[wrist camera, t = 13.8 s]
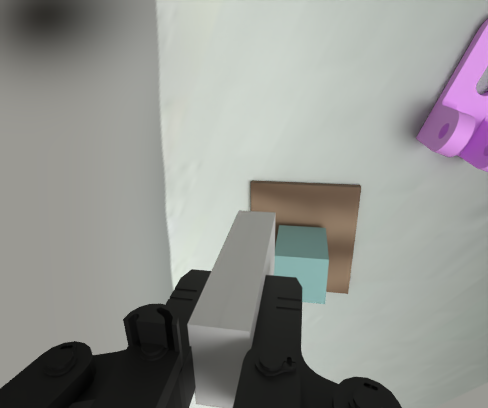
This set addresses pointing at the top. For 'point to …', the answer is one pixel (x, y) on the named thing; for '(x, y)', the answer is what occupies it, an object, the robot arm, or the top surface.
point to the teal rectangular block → (303, 259)
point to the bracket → (462, 109)
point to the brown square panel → (316, 218)
